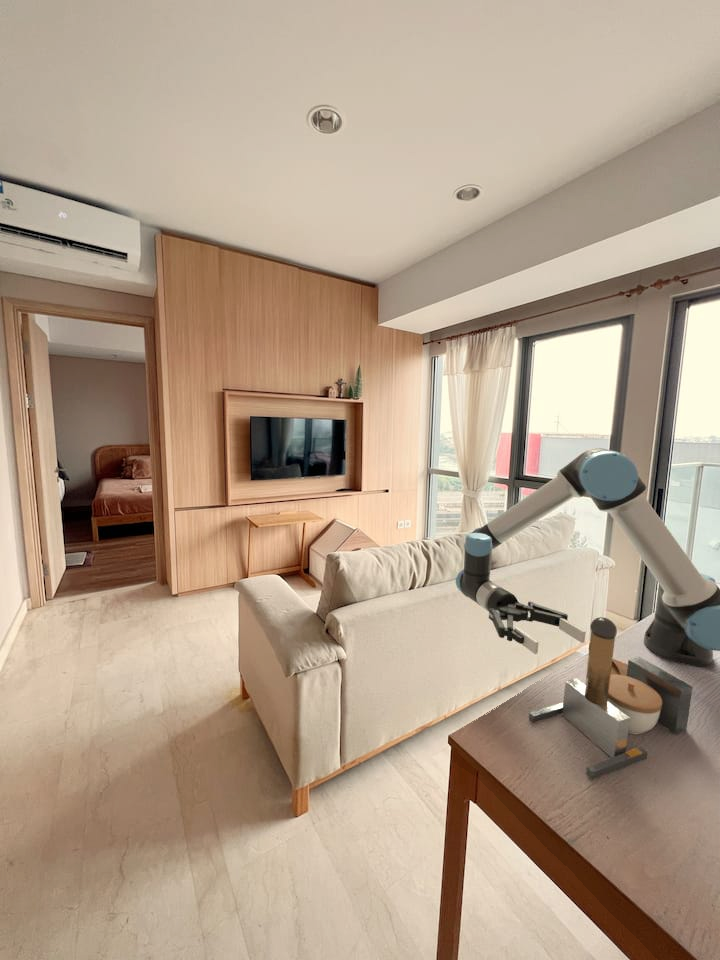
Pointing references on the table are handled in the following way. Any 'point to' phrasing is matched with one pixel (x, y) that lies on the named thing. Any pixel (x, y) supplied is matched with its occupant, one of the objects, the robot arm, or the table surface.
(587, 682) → the gold upright rod
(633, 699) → the lidded jar
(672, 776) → the table surface
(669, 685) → the bench
